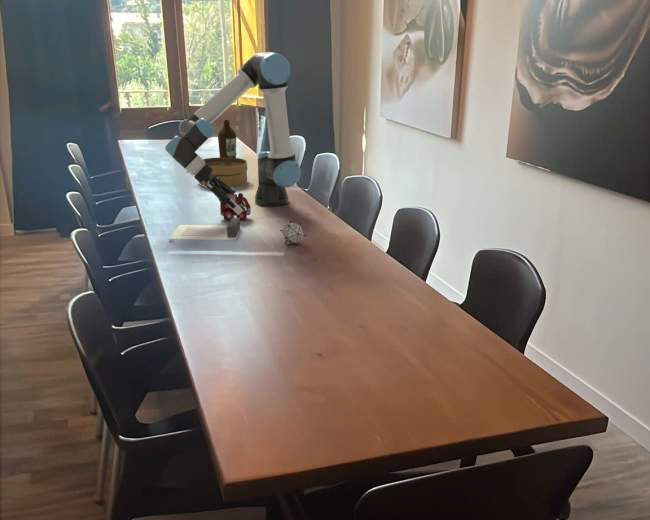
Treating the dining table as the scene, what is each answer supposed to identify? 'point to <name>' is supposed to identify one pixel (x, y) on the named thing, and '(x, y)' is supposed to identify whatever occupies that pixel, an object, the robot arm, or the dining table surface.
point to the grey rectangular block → (233, 227)
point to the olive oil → (227, 141)
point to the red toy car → (230, 213)
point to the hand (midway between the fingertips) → (242, 209)
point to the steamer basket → (228, 170)
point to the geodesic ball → (293, 233)
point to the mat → (202, 232)
